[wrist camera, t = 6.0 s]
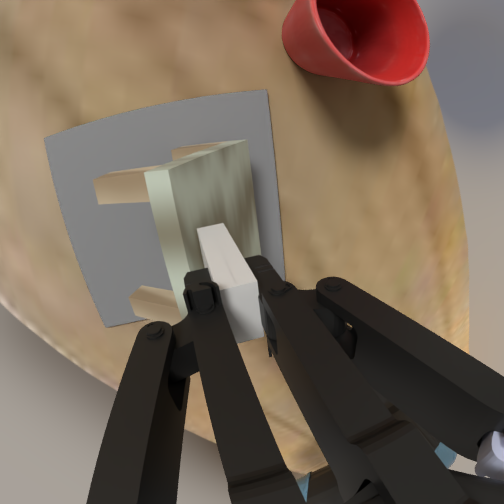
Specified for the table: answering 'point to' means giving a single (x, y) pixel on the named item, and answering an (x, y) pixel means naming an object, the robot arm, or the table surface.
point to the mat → (140, 213)
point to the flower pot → (358, 39)
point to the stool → (188, 213)
